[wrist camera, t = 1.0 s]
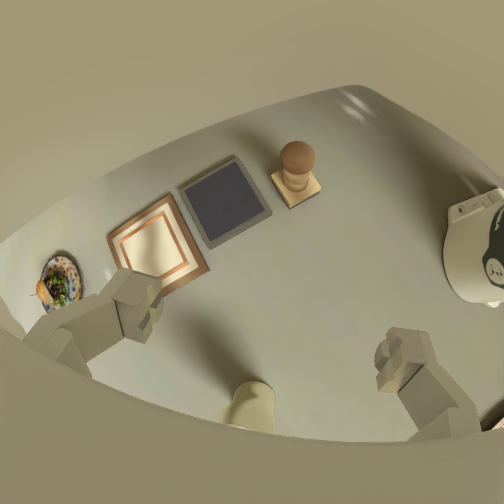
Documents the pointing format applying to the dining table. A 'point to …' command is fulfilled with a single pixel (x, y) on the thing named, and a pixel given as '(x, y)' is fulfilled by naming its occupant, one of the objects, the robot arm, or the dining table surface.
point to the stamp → (296, 174)
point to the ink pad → (225, 203)
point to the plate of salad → (59, 284)
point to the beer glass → (250, 408)
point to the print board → (159, 246)
